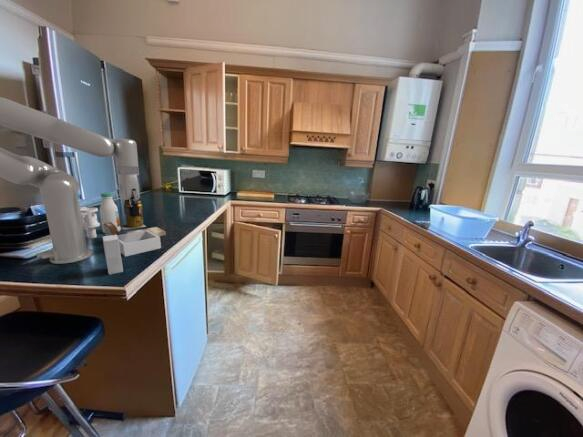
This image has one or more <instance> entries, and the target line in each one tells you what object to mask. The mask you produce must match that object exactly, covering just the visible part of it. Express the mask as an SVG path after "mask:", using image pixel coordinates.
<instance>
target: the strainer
mask: <svg viewBox="0 0 583 437" xmlns="http://www.w3.org/2000/svg"><path fill="white" fill-rule="evenodd" d="M80 211H81V216H82V222H83V228H84V229H87V235H88V239H95V238H97V237H98V236H97V231H96V228H97V227H100V226H101V222H99V221H98V216H97V213H95V212H98V211H99V208H98V207H86V206H80Z"/></svg>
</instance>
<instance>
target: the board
mask: <svg viewBox="0 0 583 437" xmlns="http://www.w3.org/2000/svg"><path fill="white" fill-rule="evenodd" d="M146 230H148V231H150V232H151V233H153V234H155V235H157V236H159V237H162V236H163V237H164V236H166V234H167V233H166V231H165V230H163V229H161V228H160V227H158V226H154V227H149V228H144V229H143V228H142V229H136V230H130V231H126V234H129V233H134V232H140V231H146Z"/></svg>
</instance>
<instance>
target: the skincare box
mask: <svg viewBox="0 0 583 437" xmlns="http://www.w3.org/2000/svg"><path fill="white" fill-rule="evenodd" d="M102 243H103V244H102V245H103V249H104V256H105V261H106V267H107V274H108V275H110V276H111V275H115V274H120V273H123V272H124V267H123V261H122V253H120V247H119V240H118V236H117V235H110V236H106V235H104V236H103V235H102Z"/></svg>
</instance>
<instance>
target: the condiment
mask: <svg viewBox="0 0 583 437" xmlns="http://www.w3.org/2000/svg"><path fill="white" fill-rule="evenodd" d="M131 199H134V198H131ZM132 202H133V201H132ZM138 205H139V216H134V217H131V216H130V209H129V207H130V203H129V199H128V200H126V205H125V211H124V214H125V213H126V214H125V219H126V220H125V221H126V222H125V223H126V224H120V225H119V226H120V227H121V230H130V229H138V228H145V227H147V226H146V225H145V224H144V215H143V205H142V204H141V198H140V197H139V200H138Z"/></svg>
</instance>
